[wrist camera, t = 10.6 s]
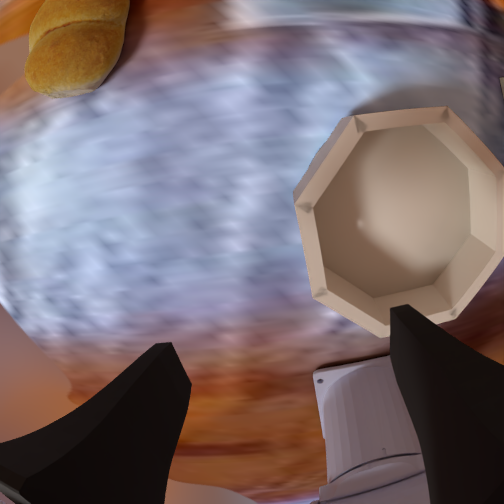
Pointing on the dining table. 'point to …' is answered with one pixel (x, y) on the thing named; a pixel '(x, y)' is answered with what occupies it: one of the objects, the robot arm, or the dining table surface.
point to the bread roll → (74, 45)
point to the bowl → (401, 216)
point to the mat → (502, 84)
